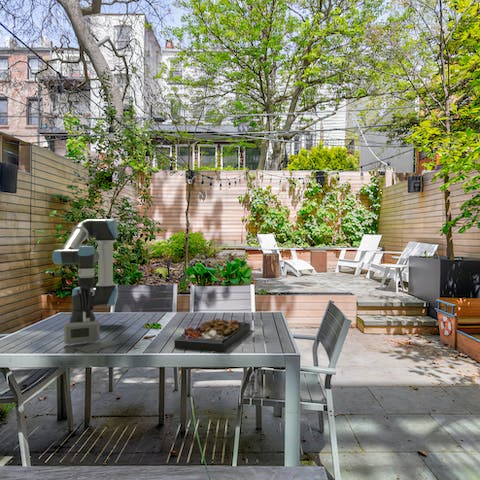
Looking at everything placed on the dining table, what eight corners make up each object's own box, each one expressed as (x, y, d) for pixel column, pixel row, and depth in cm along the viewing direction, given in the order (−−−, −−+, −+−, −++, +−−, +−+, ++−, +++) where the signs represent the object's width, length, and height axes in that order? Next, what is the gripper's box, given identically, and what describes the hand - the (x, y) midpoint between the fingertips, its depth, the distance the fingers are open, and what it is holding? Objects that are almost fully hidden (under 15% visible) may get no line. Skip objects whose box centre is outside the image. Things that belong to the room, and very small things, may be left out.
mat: (75, 349, 172) (75, 348, 172) (108, 340, 187) (108, 339, 187) (87, 352, 167) (87, 351, 167) (120, 343, 181) (120, 342, 181)
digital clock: (62, 345, 178) (61, 331, 172) (67, 330, 185) (66, 316, 179) (97, 347, 182) (98, 333, 176) (101, 332, 189) (101, 318, 183)
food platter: (223, 353, 166) (223, 331, 166) (174, 349, 173) (174, 327, 173) (250, 330, 209) (250, 312, 209) (210, 328, 216) (210, 310, 216)
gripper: (71, 276, 183) (71, 324, 183) (87, 278, 176) (87, 327, 176) (85, 275, 190) (85, 321, 189) (100, 276, 182) (101, 324, 182)
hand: (86, 324), depth 183 cm, fingers closed
